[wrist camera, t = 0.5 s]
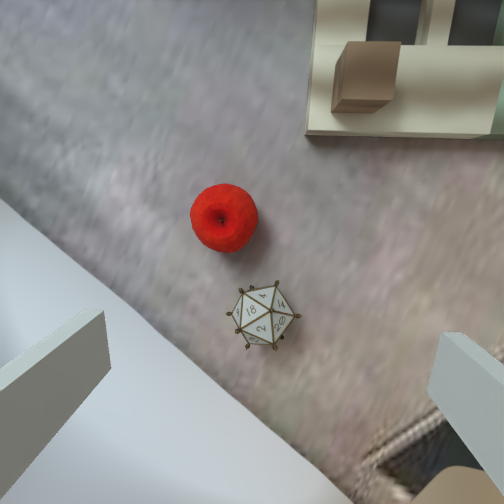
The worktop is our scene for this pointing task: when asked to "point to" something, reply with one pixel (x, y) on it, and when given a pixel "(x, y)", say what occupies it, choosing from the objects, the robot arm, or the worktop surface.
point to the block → (365, 76)
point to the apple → (224, 217)
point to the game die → (262, 315)
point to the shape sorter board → (415, 67)
